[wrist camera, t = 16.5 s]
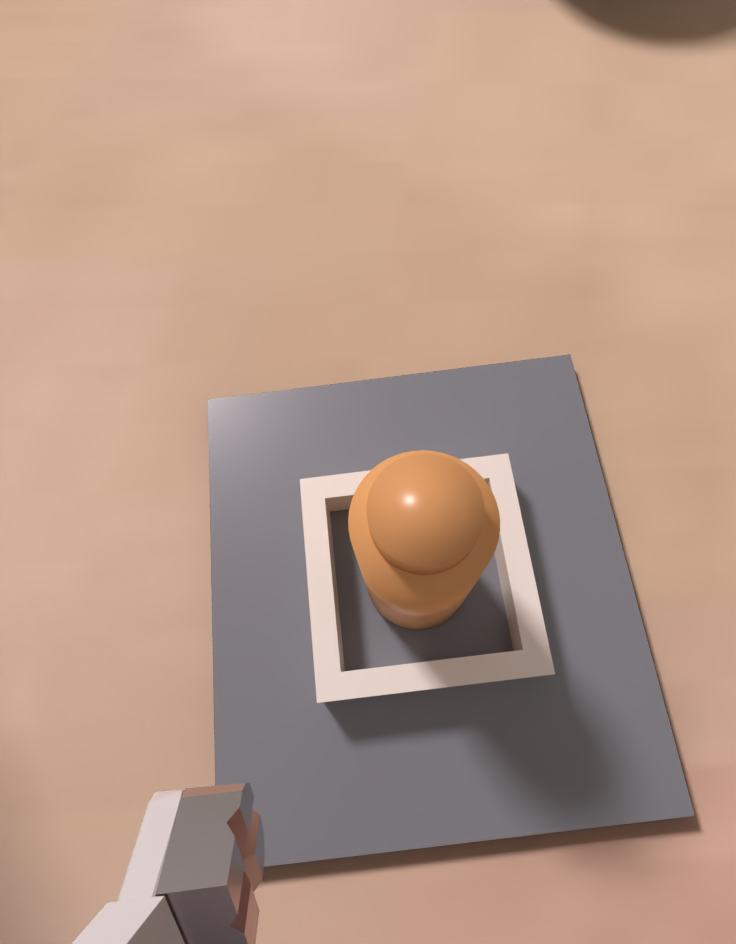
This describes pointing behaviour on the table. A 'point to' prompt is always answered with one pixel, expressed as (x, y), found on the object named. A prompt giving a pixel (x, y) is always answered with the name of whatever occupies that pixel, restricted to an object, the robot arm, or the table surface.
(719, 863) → the table surface
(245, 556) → the holder
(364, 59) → the table surface
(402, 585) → the orange cylinder
